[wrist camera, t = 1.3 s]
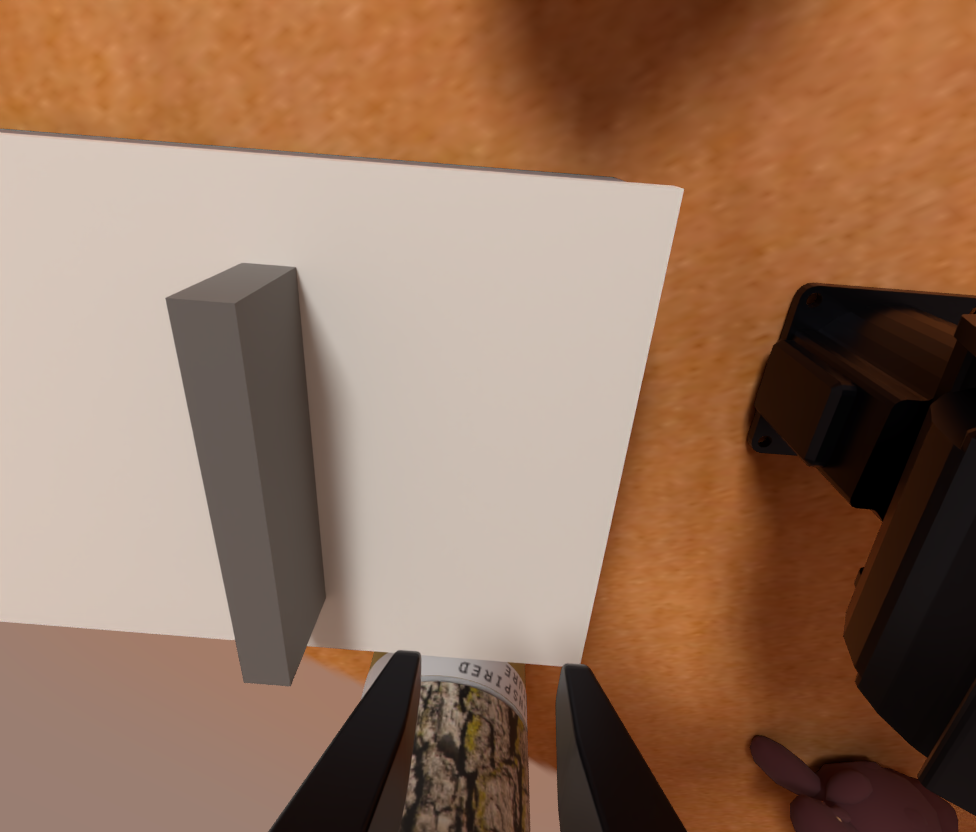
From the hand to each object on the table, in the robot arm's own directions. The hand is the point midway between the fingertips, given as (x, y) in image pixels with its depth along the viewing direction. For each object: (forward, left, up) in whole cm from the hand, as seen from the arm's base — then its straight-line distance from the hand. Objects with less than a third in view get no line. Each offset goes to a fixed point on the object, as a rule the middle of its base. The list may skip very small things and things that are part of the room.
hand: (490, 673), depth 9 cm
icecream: (-22, +23, -13) cm, 34 cm away
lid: (+7, 0, -7) cm, 10 cm away
